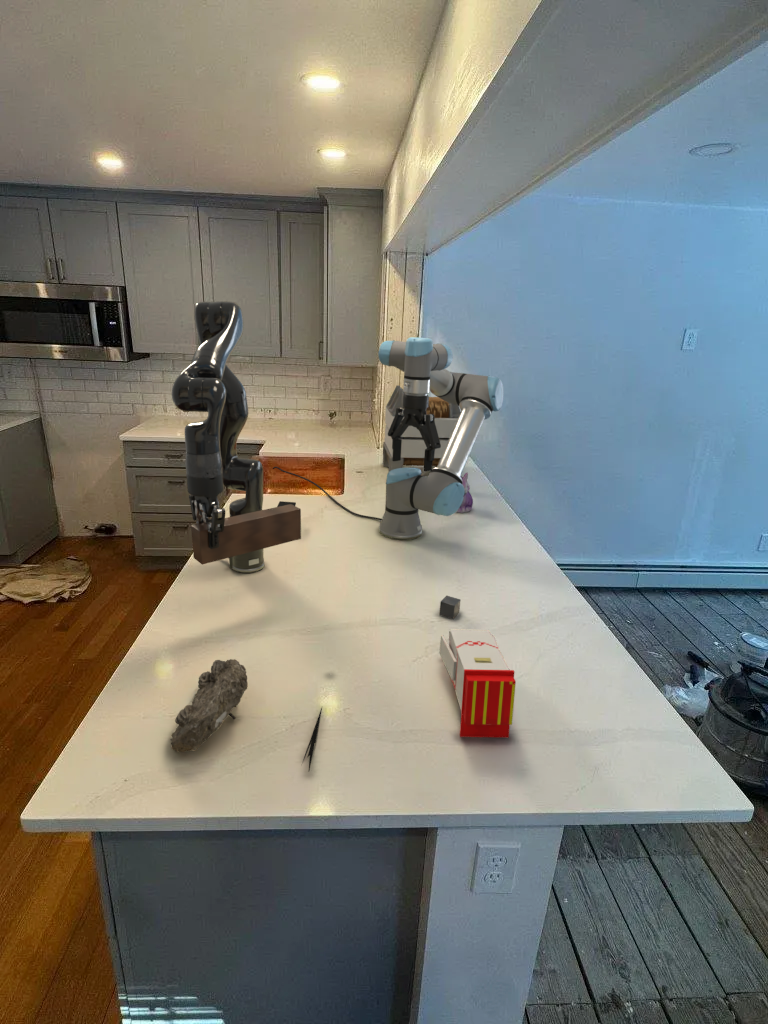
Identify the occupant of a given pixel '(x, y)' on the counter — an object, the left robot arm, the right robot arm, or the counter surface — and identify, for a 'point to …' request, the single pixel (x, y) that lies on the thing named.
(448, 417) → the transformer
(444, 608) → the slate cube
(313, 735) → the feather
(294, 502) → the figurine character
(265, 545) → the walnut bar
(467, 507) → the figurine
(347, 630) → the counter surface
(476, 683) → the toy
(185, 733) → the fossil
